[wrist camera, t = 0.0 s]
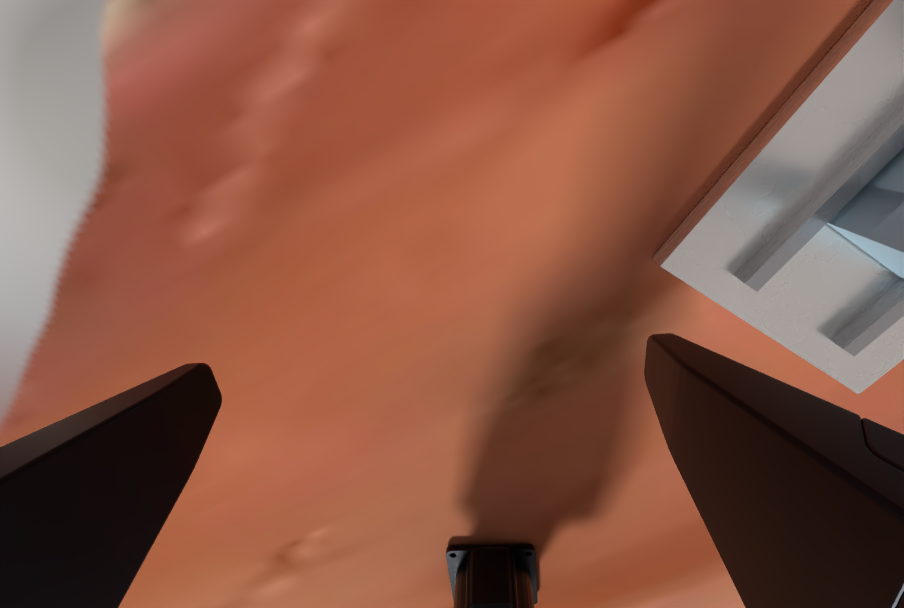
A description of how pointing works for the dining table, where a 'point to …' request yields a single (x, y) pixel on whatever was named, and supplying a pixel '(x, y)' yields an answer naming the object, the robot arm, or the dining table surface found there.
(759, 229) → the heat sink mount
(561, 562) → the dining table surface
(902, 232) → the light blue bar
